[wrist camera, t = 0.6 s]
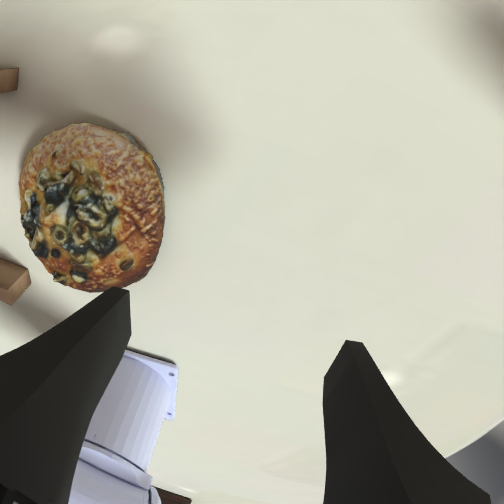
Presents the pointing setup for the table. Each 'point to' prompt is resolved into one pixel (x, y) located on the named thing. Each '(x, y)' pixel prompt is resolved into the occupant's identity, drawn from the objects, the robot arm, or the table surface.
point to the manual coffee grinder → (171, 497)
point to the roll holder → (3, 272)
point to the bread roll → (92, 207)
